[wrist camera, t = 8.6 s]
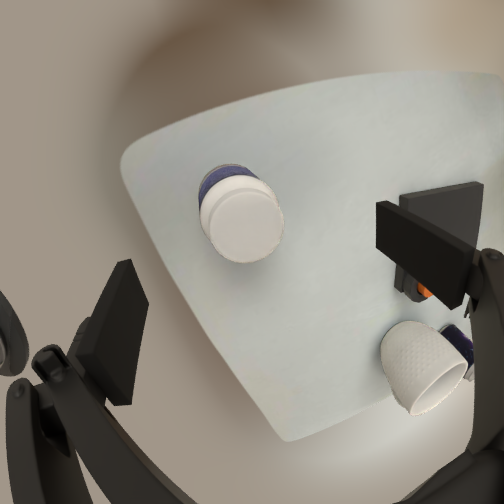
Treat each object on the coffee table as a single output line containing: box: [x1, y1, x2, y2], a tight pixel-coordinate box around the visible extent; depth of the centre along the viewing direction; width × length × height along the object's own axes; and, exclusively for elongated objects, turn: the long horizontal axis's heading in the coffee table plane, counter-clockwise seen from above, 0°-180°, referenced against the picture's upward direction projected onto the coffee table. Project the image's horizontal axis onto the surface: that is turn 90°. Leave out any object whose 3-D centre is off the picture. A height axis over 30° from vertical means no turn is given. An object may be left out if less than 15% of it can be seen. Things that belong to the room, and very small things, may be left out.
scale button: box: [417, 283, 433, 297], centre depth 31 cm, size 3×3×2 cm
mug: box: [380, 321, 468, 416], centre depth 35 cm, size 15×11×13 cm
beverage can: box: [439, 324, 475, 381], centre depth 39 cm, size 6×6×12 cm
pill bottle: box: [199, 164, 284, 263], centre depth 22 cm, size 6×6×10 cm
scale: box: [394, 182, 484, 303], centre depth 32 cm, size 17×14×4 cm
